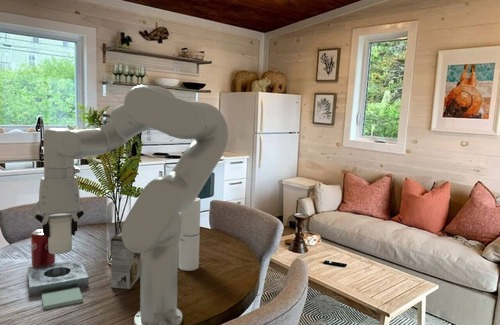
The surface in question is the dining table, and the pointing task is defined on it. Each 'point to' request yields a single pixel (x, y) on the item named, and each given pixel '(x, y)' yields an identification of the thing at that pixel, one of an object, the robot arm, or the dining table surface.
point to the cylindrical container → (190, 237)
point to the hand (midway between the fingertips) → (60, 234)
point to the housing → (47, 280)
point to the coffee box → (123, 264)
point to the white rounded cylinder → (60, 233)
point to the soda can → (40, 249)
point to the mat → (61, 298)
